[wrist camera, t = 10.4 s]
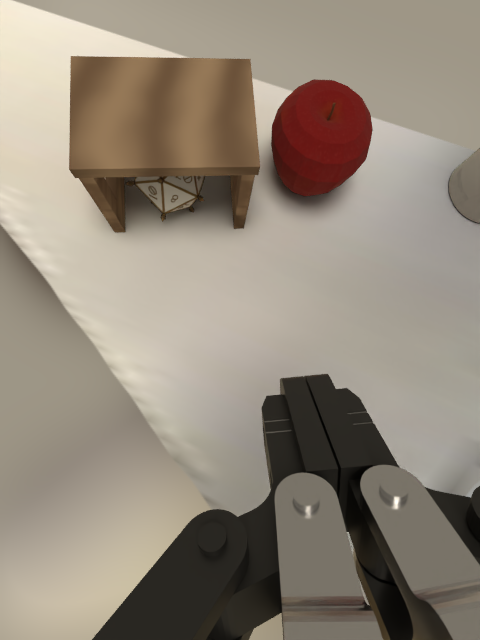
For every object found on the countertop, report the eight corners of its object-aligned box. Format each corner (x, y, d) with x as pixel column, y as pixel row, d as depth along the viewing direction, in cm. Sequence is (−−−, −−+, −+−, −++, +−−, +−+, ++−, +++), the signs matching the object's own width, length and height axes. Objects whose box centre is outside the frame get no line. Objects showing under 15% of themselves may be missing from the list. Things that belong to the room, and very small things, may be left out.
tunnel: (239, 148, 43) (250, 59, 31) (246, 228, 41) (260, 166, 29) (111, 149, 42) (70, 56, 30) (112, 232, 40) (69, 169, 28)
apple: (331, 226, 42) (375, 169, 31) (251, 198, 42) (265, 130, 30) (352, 153, 44) (402, 74, 33) (276, 126, 44) (299, 37, 33)
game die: (189, 202, 45) (235, 152, 38) (173, 248, 41) (223, 201, 34) (128, 158, 41) (168, 92, 34) (103, 204, 36) (143, 139, 29)
